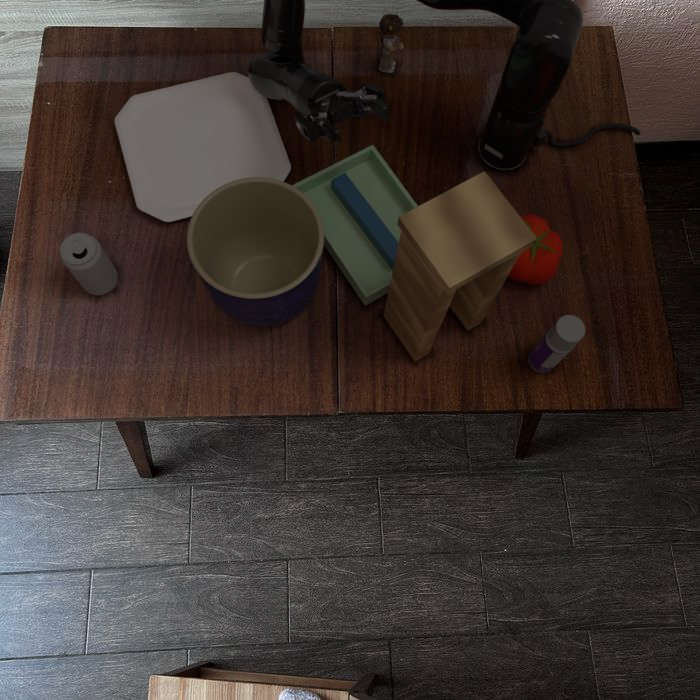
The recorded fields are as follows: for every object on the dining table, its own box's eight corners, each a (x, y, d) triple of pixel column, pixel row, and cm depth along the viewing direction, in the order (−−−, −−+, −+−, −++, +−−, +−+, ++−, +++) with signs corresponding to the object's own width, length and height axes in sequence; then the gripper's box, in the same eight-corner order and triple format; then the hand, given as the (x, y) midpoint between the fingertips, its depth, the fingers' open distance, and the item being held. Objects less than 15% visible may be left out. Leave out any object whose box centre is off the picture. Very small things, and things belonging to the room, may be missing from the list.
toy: (399, 81, 138) (407, 23, 124) (372, 76, 138) (377, 17, 124) (404, 57, 140) (413, -3, 126) (377, 52, 141) (383, -9, 126)
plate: (256, 73, 138) (255, 65, 136) (299, 193, 129) (298, 186, 127) (111, 107, 134) (108, 100, 132) (145, 234, 125) (142, 228, 123)
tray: (371, 156, 132) (373, 144, 129) (447, 259, 125) (450, 250, 122) (291, 196, 129) (290, 185, 125) (364, 305, 122) (365, 297, 118)
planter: (191, 257, 124) (168, 200, 106) (300, 221, 127) (296, 159, 109) (228, 360, 117) (211, 317, 100) (341, 319, 121) (344, 271, 103)
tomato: (474, 243, 127) (485, 219, 119) (535, 222, 128) (549, 198, 120) (504, 303, 123) (517, 282, 115) (566, 281, 125) (583, 259, 117)
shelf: (445, 273, 124) (484, 170, 94) (484, 327, 121) (537, 238, 91) (380, 310, 121) (398, 216, 91) (417, 366, 118) (449, 288, 88)
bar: (344, 181, 129) (345, 172, 127) (406, 262, 124) (408, 254, 121) (331, 188, 129) (331, 179, 126) (392, 270, 123) (394, 263, 121)
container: (525, 348, 120) (552, 315, 106) (552, 346, 120) (582, 313, 106) (530, 374, 118) (558, 343, 104) (557, 372, 119) (588, 341, 105)
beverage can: (90, 303, 120) (65, 272, 109) (77, 273, 122) (51, 240, 111) (125, 287, 121) (104, 256, 110) (111, 258, 123) (90, 224, 112)
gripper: (272, 92, 112) (315, 122, 101) (347, 56, 115) (397, 82, 104) (286, 134, 118) (329, 167, 106) (357, 99, 120) (406, 127, 109)
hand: (362, 125), depth 105 cm, fingers open, 8 cm apart
